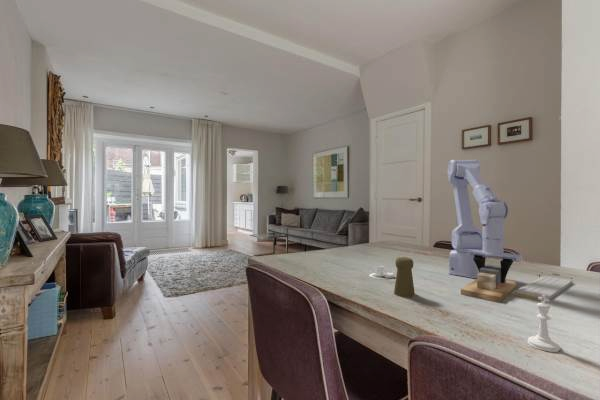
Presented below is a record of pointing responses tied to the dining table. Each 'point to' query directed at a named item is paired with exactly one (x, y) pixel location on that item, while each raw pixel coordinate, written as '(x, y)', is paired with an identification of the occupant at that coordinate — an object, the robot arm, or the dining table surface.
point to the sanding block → (493, 272)
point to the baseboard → (543, 287)
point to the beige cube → (486, 281)
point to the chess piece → (543, 330)
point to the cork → (404, 277)
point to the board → (489, 291)
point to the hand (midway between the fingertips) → (492, 280)
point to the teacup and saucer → (381, 272)
